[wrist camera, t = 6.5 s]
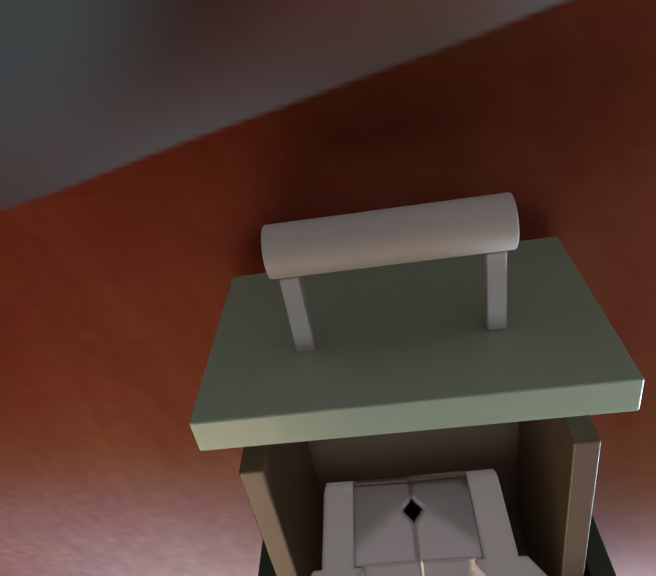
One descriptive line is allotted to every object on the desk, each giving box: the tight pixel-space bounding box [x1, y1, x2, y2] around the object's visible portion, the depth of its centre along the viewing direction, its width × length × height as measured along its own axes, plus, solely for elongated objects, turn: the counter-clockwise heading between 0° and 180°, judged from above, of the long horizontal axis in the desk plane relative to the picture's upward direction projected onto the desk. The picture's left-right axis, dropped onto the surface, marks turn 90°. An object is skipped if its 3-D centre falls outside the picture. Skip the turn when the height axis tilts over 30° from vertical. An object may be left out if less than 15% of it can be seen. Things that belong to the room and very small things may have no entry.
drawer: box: [189, 192, 644, 576], centre depth 23 cm, size 20×13×8 cm, turn 9°
